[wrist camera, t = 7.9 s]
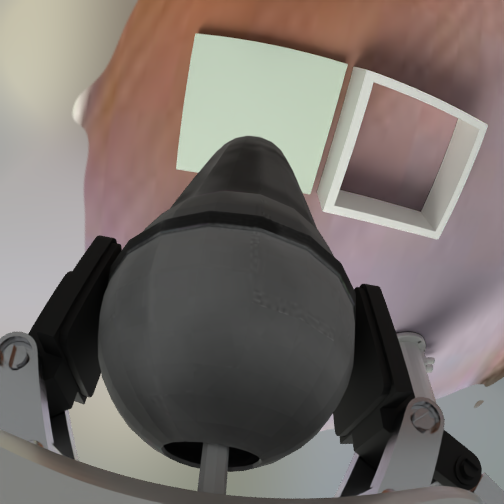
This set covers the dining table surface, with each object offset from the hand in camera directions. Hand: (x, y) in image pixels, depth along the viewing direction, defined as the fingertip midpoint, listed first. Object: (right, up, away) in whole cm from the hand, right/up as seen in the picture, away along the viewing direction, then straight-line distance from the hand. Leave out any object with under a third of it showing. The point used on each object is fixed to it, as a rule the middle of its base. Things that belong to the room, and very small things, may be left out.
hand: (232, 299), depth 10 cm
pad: (+1, +17, +23) cm, 29 cm away
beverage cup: (+1, +6, +9) cm, 11 cm away
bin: (+18, +14, +25) cm, 33 cm away
